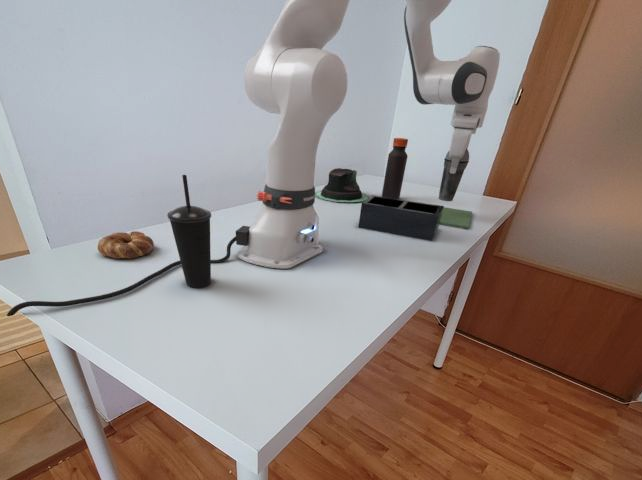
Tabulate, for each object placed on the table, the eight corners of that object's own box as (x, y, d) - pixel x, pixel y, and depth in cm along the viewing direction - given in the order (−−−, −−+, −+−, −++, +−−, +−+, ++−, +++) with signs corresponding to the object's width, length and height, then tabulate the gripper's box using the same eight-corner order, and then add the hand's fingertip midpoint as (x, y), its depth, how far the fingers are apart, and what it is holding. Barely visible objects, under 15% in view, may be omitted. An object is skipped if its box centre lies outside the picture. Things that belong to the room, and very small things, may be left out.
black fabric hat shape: (324, 185, 148) (372, 192, 144) (310, 217, 141) (361, 226, 137) (323, 151, 135) (376, 158, 131) (308, 185, 128) (364, 194, 124)
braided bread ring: (98, 263, 78) (93, 246, 76) (100, 246, 87) (95, 230, 84) (156, 258, 82) (153, 242, 80) (153, 241, 90) (150, 226, 88)
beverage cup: (460, 203, 116) (482, 130, 104) (437, 201, 116) (457, 129, 104) (453, 197, 122) (473, 128, 110) (431, 195, 122) (449, 126, 110)
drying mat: (467, 229, 112) (468, 226, 111) (409, 219, 117) (409, 216, 117) (471, 213, 127) (472, 211, 126) (419, 205, 132) (420, 203, 132)
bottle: (378, 196, 141) (387, 137, 129) (393, 196, 142) (404, 137, 131) (386, 201, 135) (397, 139, 124) (402, 200, 137) (414, 140, 125)
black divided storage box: (432, 241, 101) (438, 215, 97) (358, 227, 108) (361, 203, 104) (437, 230, 110) (444, 206, 105) (368, 218, 116) (372, 195, 112)
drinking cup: (201, 271, 78) (189, 169, 66) (225, 282, 74) (216, 176, 62) (171, 282, 73) (151, 174, 61) (194, 295, 69) (178, 182, 57)
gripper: (459, 117, 114) (447, 165, 123) (452, 119, 99) (439, 174, 107) (480, 118, 112) (466, 167, 121) (477, 121, 97) (461, 177, 105)
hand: (453, 171), depth 114 cm, fingers closed on beverage cup, 6 cm apart
